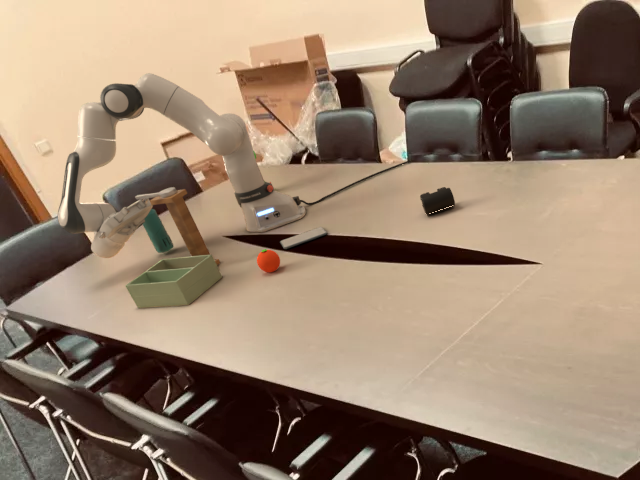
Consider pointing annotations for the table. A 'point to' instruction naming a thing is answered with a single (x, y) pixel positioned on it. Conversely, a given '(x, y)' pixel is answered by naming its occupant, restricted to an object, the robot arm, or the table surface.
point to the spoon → (159, 194)
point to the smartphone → (303, 237)
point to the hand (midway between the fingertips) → (136, 203)
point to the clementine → (268, 260)
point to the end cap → (437, 200)
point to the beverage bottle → (157, 232)
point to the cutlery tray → (174, 281)
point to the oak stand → (184, 223)
